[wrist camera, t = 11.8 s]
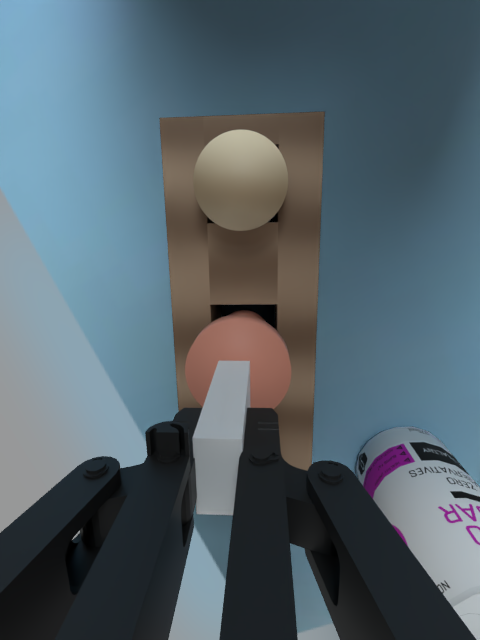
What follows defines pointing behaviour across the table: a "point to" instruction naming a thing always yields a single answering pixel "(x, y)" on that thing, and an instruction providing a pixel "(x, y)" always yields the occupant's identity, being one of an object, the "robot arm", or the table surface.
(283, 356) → the brick-red plug
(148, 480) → the robot arm
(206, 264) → the socket board
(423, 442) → the supplement can
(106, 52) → the table surface
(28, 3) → the table surface
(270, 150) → the maple plug
